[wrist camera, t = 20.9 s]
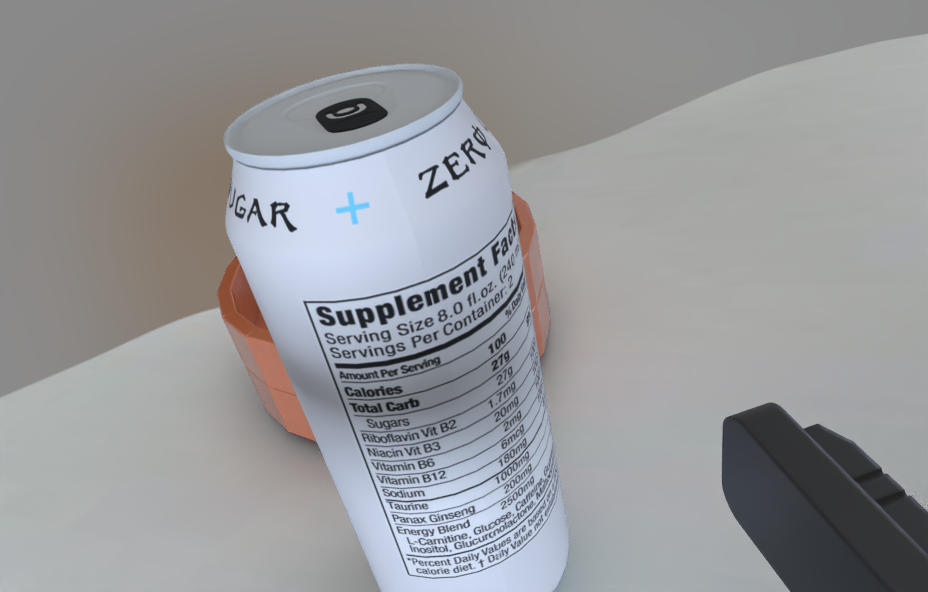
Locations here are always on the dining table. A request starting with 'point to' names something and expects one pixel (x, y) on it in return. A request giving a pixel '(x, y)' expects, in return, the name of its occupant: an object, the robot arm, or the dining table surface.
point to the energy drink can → (404, 322)
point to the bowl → (266, 360)
